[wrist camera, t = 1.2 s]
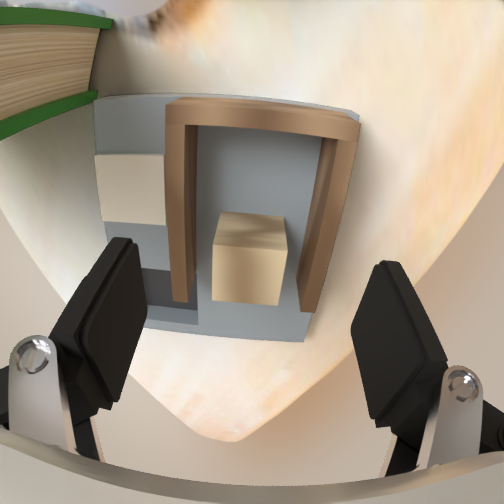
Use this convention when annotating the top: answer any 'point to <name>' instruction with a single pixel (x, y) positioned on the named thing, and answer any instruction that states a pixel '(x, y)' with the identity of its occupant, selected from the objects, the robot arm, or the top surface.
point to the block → (248, 258)
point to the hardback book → (44, 64)
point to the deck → (205, 208)
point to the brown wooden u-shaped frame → (268, 118)
